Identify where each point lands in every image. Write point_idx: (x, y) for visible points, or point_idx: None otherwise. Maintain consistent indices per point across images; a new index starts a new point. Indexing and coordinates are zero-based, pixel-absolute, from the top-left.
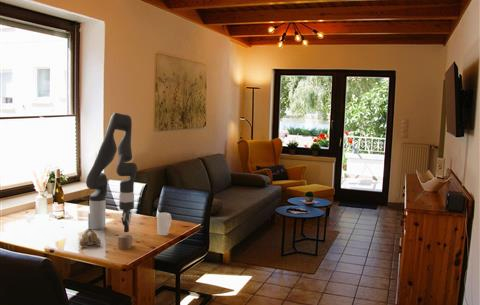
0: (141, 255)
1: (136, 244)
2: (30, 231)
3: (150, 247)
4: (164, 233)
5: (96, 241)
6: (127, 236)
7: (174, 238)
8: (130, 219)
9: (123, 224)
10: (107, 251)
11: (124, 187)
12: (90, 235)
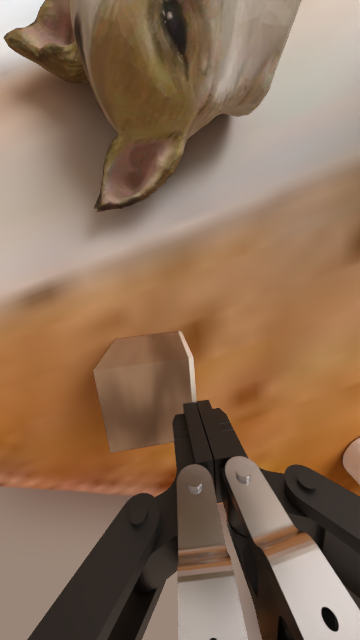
0: (40, 479)
1: None
2: None
3: (167, 472)
4: (351, 475)
5: (108, 164)
6: (138, 425)
7: None
8: (355, 565)
9: (115, 529)
10: (44, 296)
11: None
12: (86, 30)
